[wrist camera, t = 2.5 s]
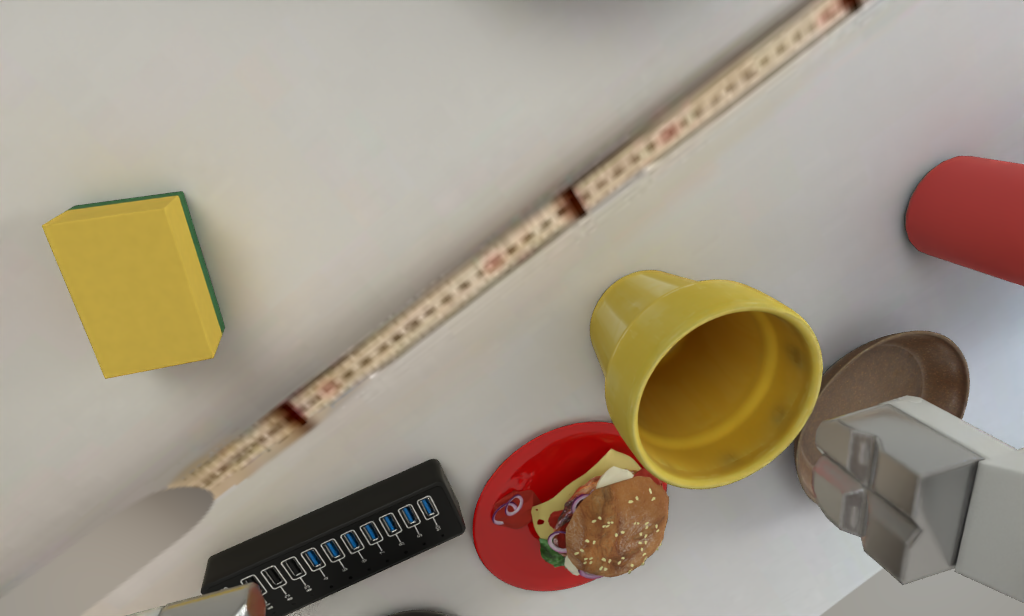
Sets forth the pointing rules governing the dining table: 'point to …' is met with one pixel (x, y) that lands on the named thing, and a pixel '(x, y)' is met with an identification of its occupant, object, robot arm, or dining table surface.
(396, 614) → the spray bottle
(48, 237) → the sponge
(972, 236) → the beer can
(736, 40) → the dining table surface
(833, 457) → the robot arm
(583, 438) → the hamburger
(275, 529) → the multiport hub
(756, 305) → the flower pot
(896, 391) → the saucer
